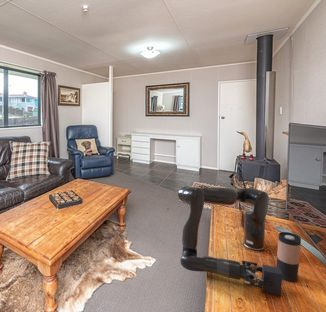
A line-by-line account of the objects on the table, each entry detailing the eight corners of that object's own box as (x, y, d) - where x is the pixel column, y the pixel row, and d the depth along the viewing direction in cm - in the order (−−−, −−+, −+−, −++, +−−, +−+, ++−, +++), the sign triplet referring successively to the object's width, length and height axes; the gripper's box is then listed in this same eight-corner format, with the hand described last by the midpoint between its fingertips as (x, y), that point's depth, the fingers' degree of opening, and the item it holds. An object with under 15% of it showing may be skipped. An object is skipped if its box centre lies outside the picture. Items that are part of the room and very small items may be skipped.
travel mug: (277, 268, 110) (279, 230, 107) (298, 275, 105) (302, 235, 101) (274, 277, 105) (277, 236, 101) (296, 284, 99) (300, 242, 96)
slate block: (261, 284, 101) (262, 264, 99) (278, 288, 98) (279, 267, 96) (262, 291, 97) (264, 270, 95) (280, 296, 94) (282, 274, 92)
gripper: (228, 270, 97) (276, 281, 90) (227, 252, 110) (269, 260, 102) (228, 286, 99) (275, 297, 91) (226, 266, 111) (268, 275, 103)
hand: (272, 278), depth 96 cm, fingers open, 8 cm apart
